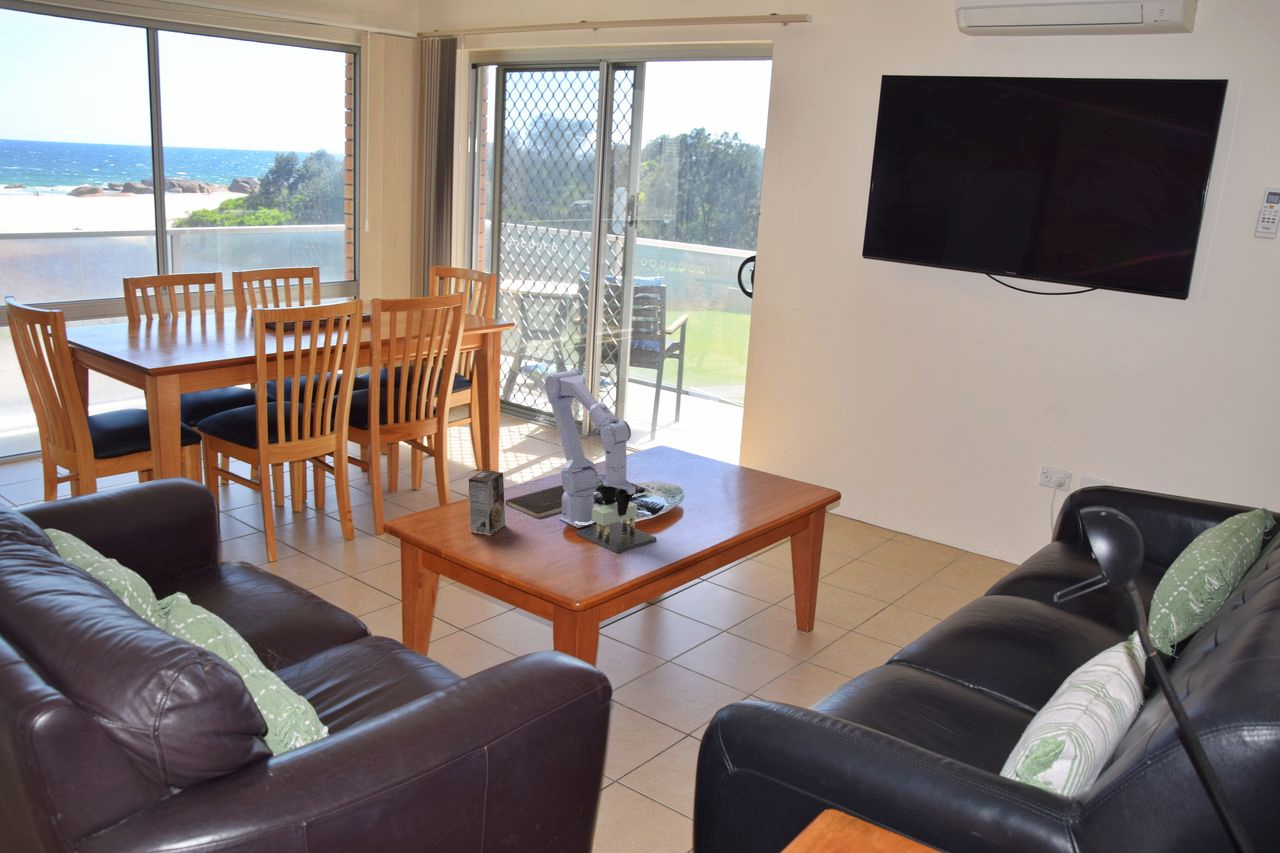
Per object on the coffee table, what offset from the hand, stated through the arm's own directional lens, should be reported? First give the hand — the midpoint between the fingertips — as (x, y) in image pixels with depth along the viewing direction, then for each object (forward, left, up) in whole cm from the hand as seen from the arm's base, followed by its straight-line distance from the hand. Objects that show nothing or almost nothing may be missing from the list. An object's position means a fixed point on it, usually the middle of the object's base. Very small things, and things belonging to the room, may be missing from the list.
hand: (615, 512), depth 284 cm
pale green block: (0, 0, -2) cm, 2 cm away
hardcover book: (-35, +3, -8) cm, 36 cm away
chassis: (0, 0, -7) cm, 7 cm away
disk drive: (-30, +25, -8) cm, 40 cm away
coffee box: (-28, -24, -8) cm, 38 cm away
